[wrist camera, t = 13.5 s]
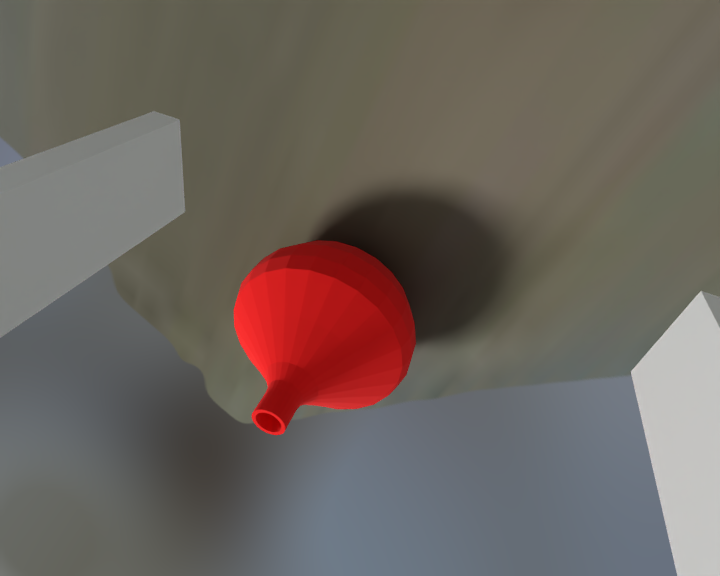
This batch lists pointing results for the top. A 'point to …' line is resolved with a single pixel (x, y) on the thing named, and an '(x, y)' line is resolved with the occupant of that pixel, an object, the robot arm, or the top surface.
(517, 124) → the top surface
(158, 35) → the top surface
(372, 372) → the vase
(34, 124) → the top surface
